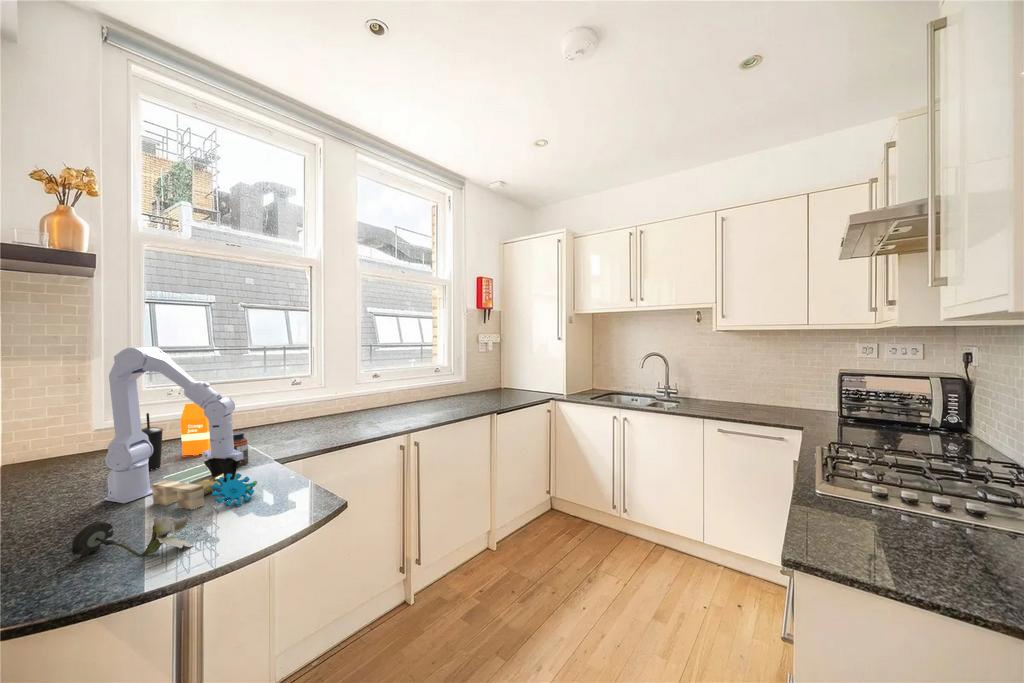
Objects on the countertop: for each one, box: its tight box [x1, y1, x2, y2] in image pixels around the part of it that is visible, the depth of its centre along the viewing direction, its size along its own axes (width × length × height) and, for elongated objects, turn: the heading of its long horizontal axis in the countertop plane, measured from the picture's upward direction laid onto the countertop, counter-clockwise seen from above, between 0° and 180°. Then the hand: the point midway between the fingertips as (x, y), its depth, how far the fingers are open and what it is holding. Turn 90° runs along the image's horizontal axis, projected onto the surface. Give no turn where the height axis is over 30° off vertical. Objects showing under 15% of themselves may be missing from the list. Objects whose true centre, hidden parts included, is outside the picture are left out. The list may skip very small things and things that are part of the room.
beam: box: [151, 480, 205, 511], centre depth 105 cm, size 16×3×5 cm, turn 71°
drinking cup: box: [141, 412, 164, 470], centre depth 134 cm, size 8×8×20 cm
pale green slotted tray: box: [162, 464, 212, 484], centre depth 119 cm, size 13×12×4 cm
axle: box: [195, 472, 239, 496], centre depth 113 cm, size 12×4×4 cm, turn 163°
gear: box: [211, 472, 258, 507], centre depth 105 cm, size 11×6×10 cm
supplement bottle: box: [233, 431, 249, 467], centre depth 136 cm, size 6×6×11 cm
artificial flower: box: [70, 516, 192, 557], centre depth 82 cm, size 9×22×10 cm, turn 82°
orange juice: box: [180, 402, 210, 456], centre depth 152 cm, size 8×9×20 cm
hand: (224, 481), depth 116 cm, fingers closed on axle, 4 cm apart
